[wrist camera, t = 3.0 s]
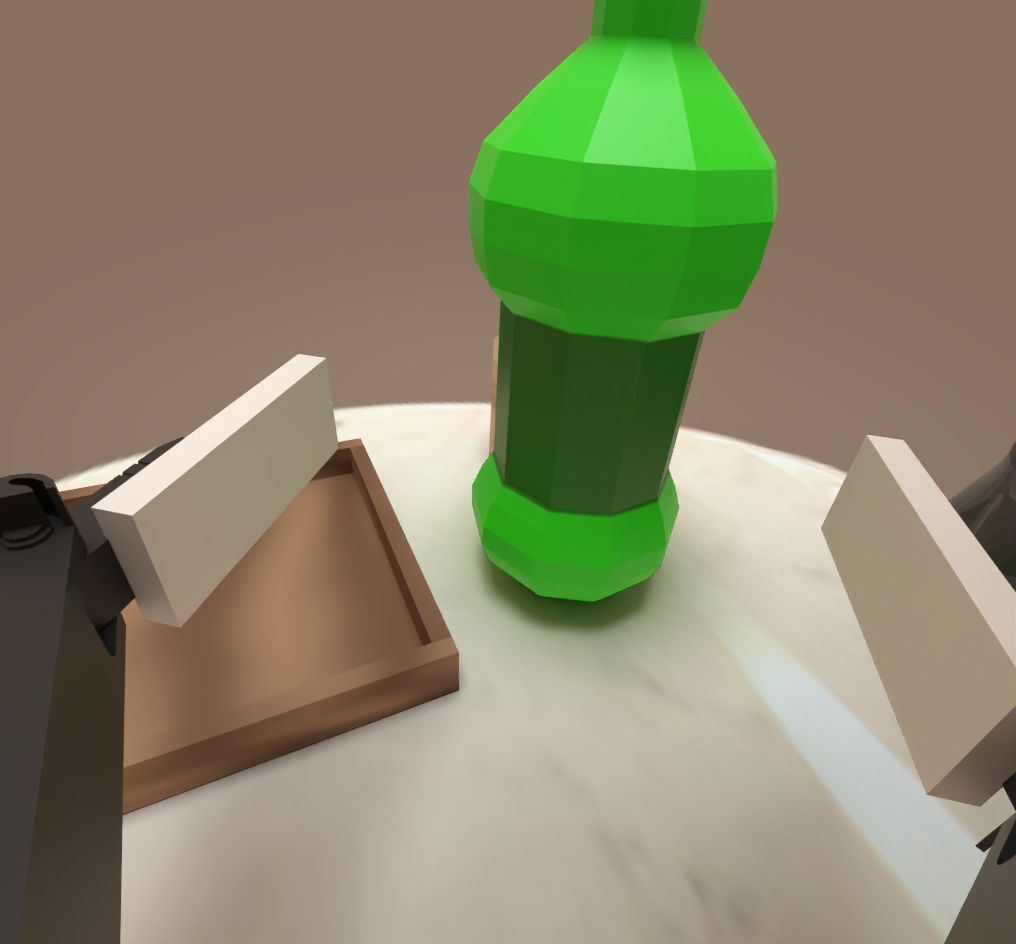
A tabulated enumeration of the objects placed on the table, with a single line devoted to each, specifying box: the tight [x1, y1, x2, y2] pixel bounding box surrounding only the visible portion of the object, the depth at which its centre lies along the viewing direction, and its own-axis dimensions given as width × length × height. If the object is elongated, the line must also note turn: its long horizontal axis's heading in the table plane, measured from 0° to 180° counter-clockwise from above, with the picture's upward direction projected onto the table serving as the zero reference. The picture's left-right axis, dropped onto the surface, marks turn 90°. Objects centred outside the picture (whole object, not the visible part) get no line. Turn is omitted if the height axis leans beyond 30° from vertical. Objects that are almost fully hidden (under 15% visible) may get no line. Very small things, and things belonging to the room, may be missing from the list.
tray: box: [59, 438, 459, 814], centre depth 25 cm, size 17×17×2 cm
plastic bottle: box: [469, 0, 778, 602], centre depth 22 cm, size 10×10×25 cm
